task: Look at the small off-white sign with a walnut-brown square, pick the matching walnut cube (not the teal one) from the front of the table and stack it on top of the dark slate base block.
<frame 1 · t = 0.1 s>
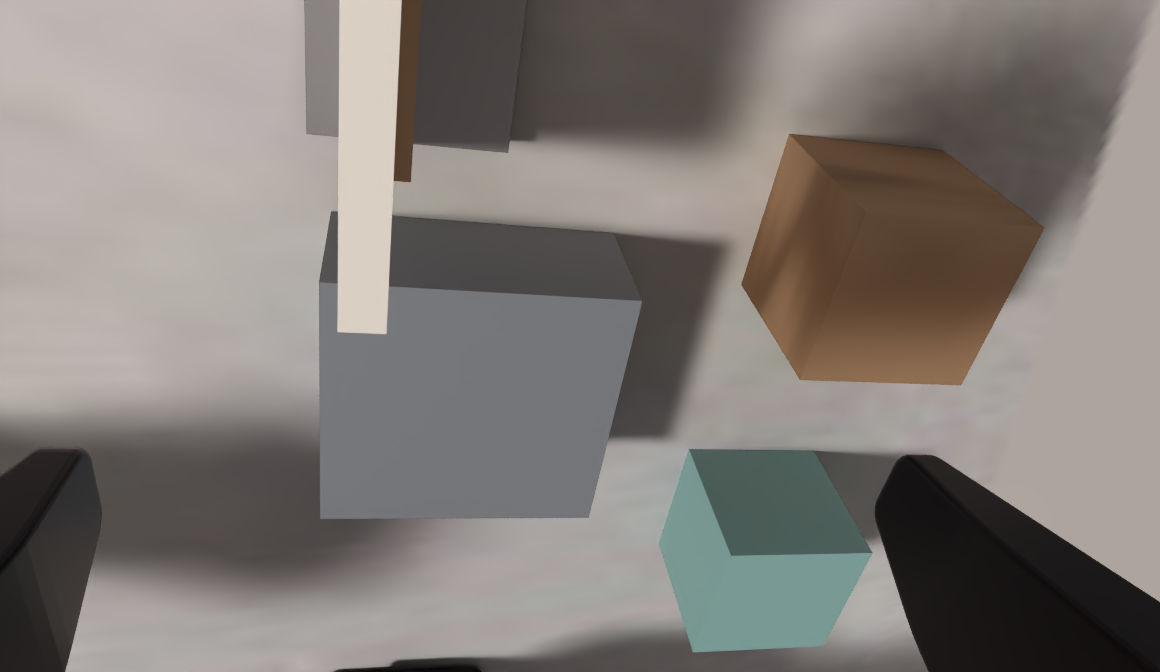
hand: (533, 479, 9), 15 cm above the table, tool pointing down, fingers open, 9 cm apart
teal cube: (733, 496, 32), on the table
walnut cube: (837, 218, 26), on the table
slate base block: (464, 333, 26), on the table
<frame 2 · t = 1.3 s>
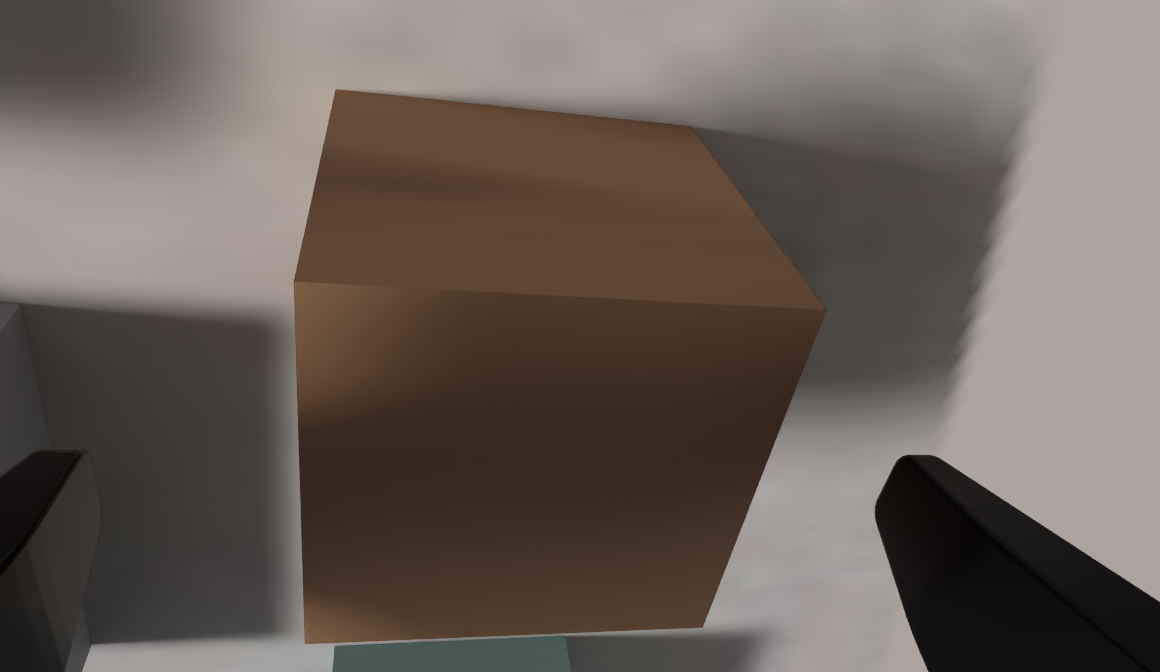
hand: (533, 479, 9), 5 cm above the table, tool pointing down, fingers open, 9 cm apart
walnut cube: (501, 261, 13), on the table
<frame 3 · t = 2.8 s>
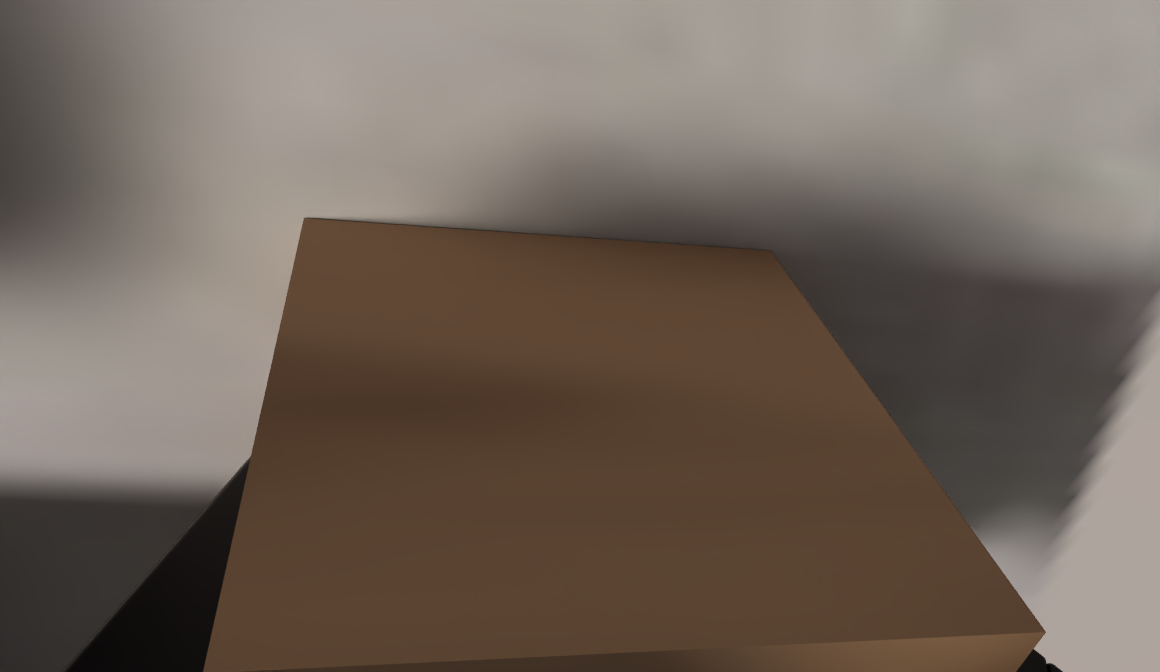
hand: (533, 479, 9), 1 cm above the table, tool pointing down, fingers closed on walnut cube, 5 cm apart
walnut cube: (522, 417, 10), on the table, touching gripper
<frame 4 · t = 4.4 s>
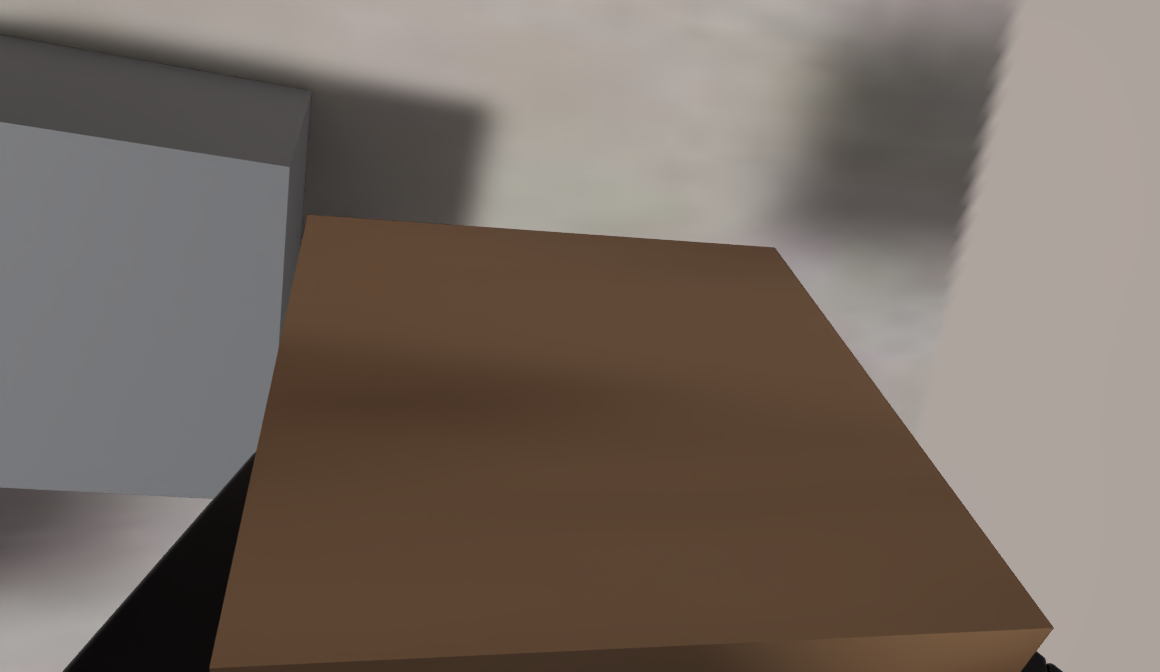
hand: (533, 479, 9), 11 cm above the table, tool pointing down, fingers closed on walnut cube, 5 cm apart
walnut cube: (526, 414, 10), point 10 cm above the table, touching gripper
slate base block: (109, 228, 18), on the table
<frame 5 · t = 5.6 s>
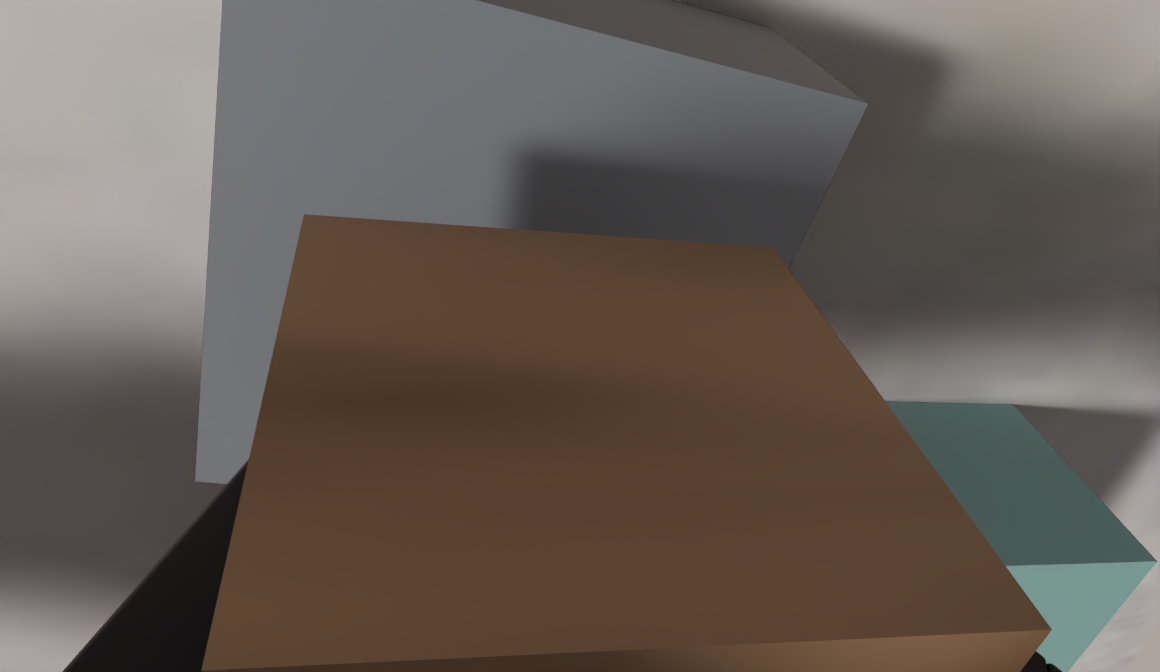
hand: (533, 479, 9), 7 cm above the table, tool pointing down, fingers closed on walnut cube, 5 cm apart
teal cube: (884, 475, 21), on the table
walnut cube: (523, 415, 10), point 6 cm above the table, touching gripper
slate base block: (486, 188, 15), on the table
when the fingers open (6 cm above the table, at t = 6.5 s): walnut cube drops 2 cm, resting on slate base block.
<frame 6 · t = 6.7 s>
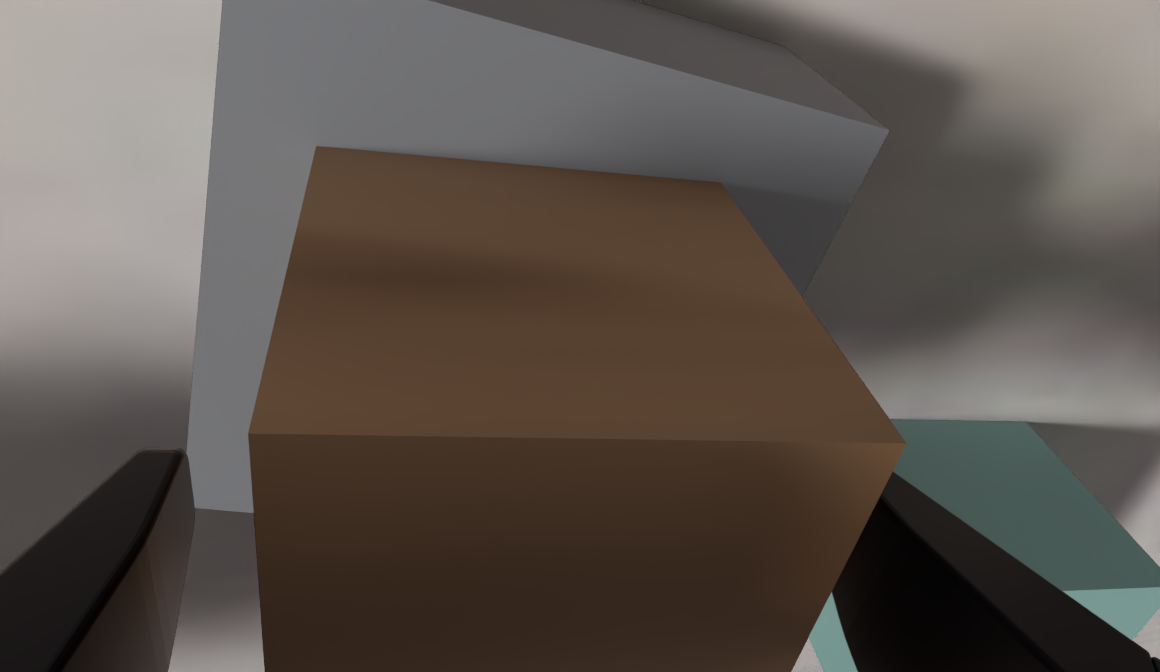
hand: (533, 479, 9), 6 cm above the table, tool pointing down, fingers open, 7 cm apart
teal cube: (894, 493, 21), on the table
walnut cube: (505, 333, 12), point 4 cm above the table, touching slate base block
slate base block: (488, 204, 15), on the table, touching walnut cube
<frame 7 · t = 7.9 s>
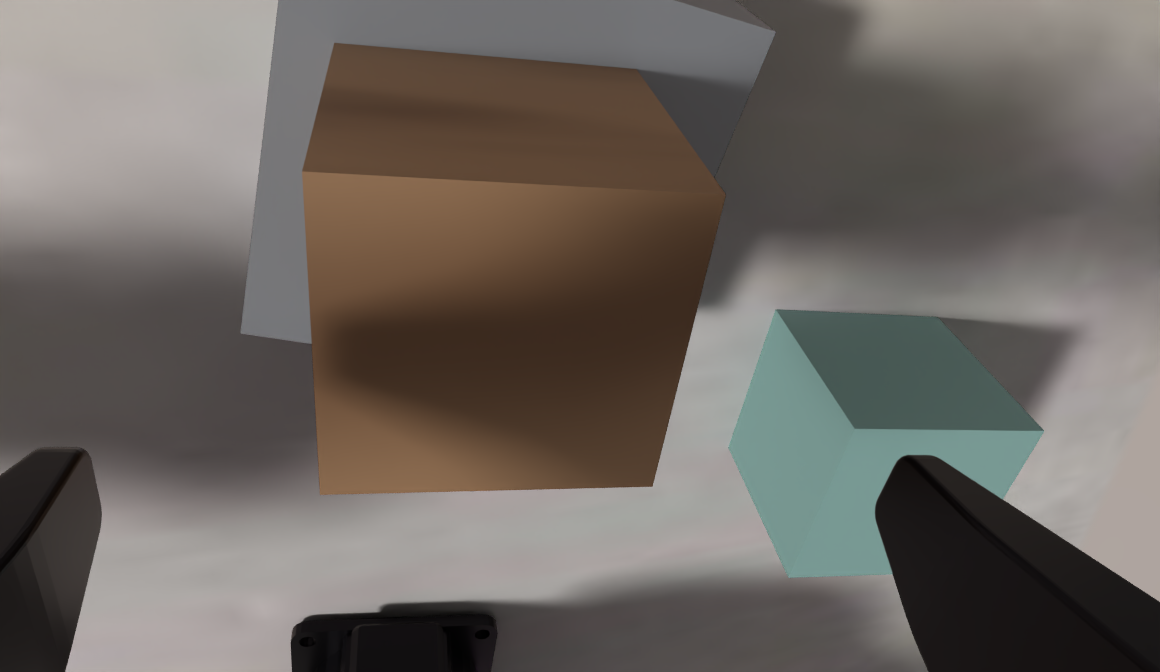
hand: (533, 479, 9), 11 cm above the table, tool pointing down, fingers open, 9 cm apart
teal cube: (828, 382, 24), on the table
walnut cube: (481, 194, 15), point 4 cm above the table
slate base block: (478, 113, 18), on the table
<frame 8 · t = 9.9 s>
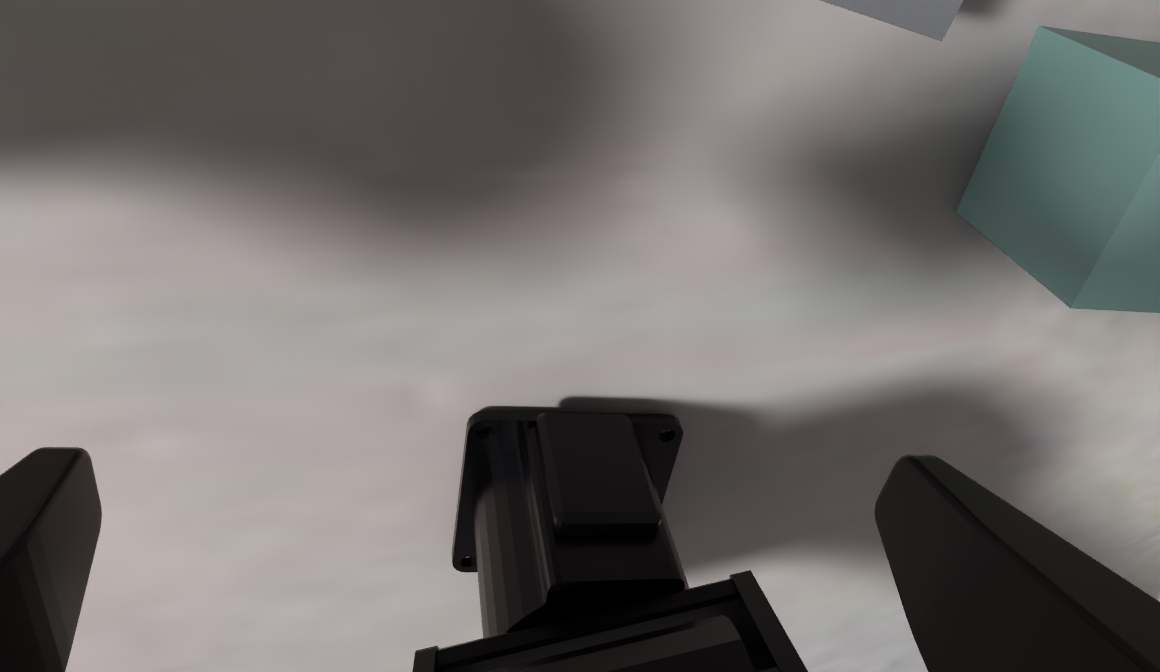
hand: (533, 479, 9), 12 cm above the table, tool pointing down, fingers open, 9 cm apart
teal cube: (1073, 132, 22), on the table
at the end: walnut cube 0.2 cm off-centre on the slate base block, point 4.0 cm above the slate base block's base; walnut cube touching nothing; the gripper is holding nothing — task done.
